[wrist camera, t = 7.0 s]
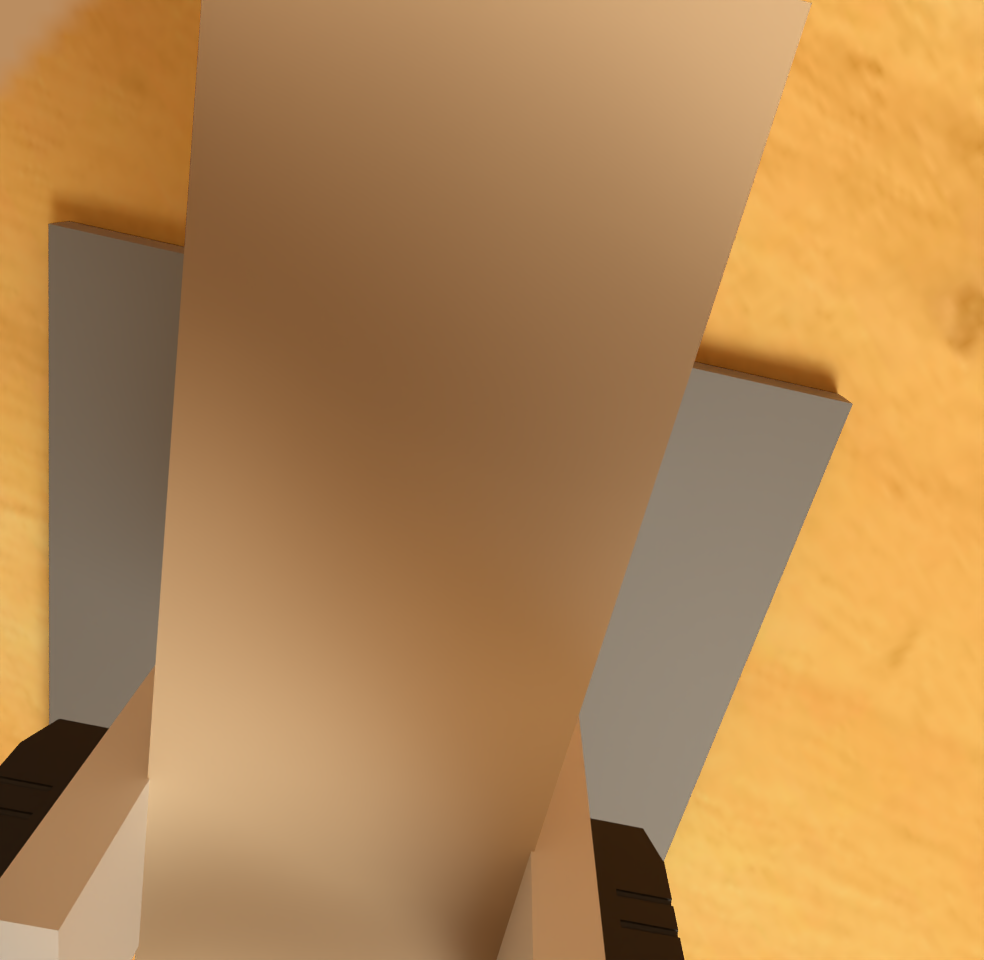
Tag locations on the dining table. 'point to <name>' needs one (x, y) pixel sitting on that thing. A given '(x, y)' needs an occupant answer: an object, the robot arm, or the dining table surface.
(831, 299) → the dining table surface
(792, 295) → the dining table surface
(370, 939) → the beech bar
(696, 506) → the slate board
